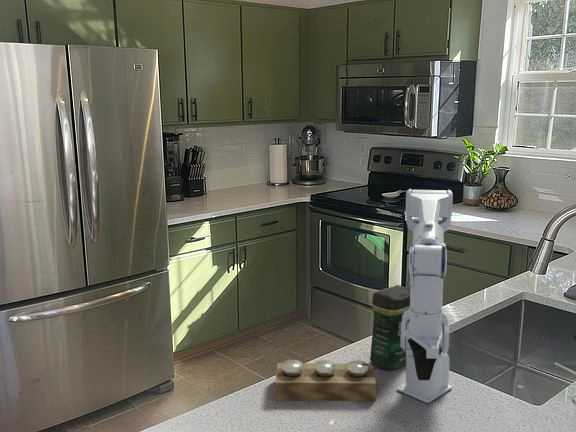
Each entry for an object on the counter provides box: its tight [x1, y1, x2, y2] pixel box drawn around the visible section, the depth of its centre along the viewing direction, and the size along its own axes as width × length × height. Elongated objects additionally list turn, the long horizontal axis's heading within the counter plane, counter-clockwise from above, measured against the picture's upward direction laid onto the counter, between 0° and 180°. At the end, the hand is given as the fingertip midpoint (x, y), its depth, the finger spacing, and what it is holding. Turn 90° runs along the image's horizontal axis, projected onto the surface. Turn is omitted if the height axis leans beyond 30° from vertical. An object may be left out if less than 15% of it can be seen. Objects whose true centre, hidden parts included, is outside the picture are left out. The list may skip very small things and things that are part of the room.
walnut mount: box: [274, 362, 377, 402], centre depth 121 cm, size 21×9×4 cm, turn 87°
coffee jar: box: [369, 284, 411, 371], centre depth 132 cm, size 10×8×19 cm
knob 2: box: [346, 359, 369, 377], centre depth 121 cm, size 4×4×6 cm
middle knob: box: [314, 359, 335, 377], centre depth 121 cm, size 4×4×6 cm
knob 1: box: [282, 359, 303, 377], centre depth 122 cm, size 4×4×6 cm
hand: (423, 378), depth 105 cm, fingers closed
